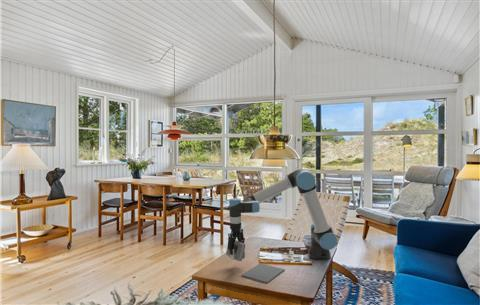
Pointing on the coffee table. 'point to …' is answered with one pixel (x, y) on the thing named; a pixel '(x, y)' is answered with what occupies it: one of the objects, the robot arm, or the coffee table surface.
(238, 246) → the digital clock
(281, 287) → the coffee table surface
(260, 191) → the robot arm
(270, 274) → the mat
